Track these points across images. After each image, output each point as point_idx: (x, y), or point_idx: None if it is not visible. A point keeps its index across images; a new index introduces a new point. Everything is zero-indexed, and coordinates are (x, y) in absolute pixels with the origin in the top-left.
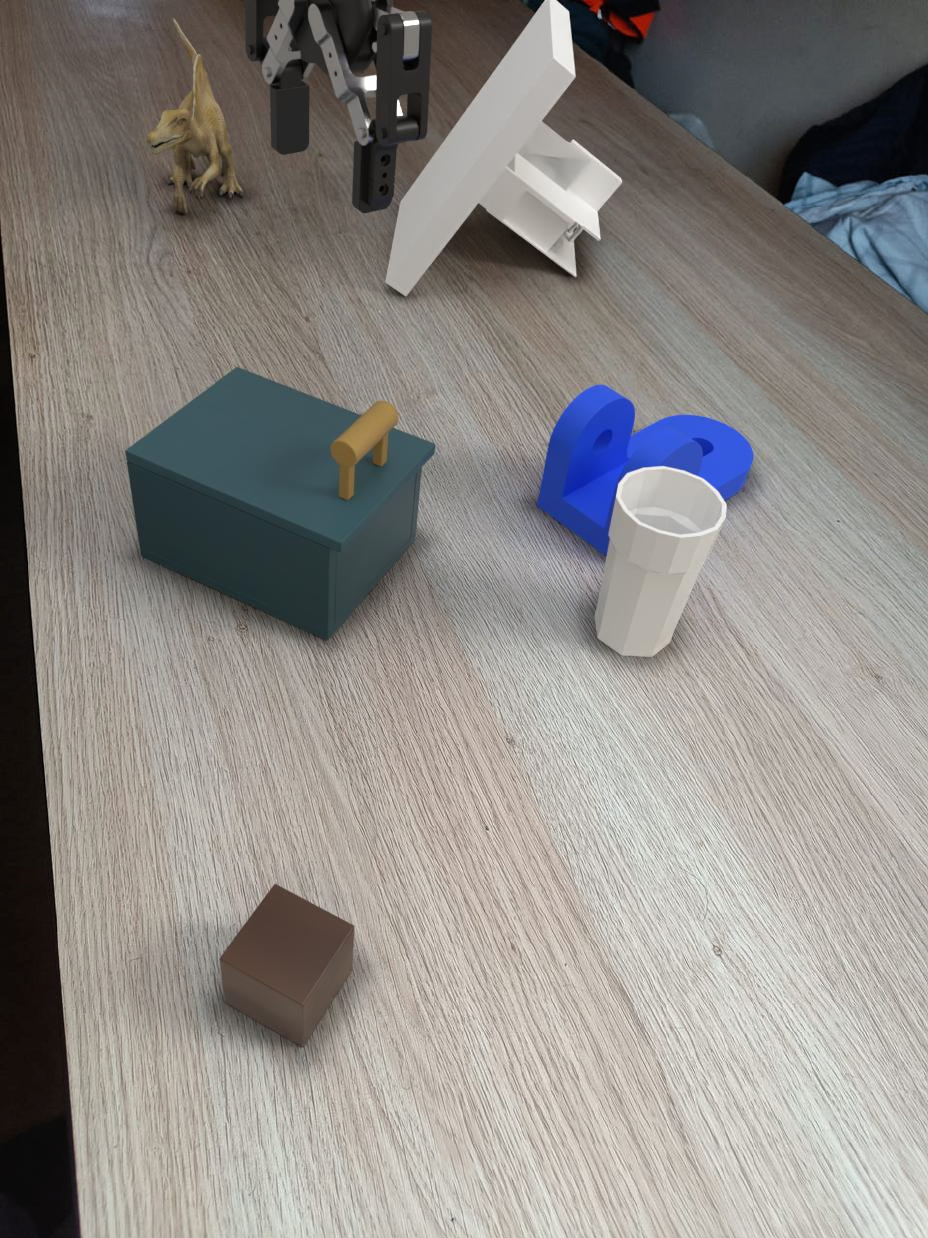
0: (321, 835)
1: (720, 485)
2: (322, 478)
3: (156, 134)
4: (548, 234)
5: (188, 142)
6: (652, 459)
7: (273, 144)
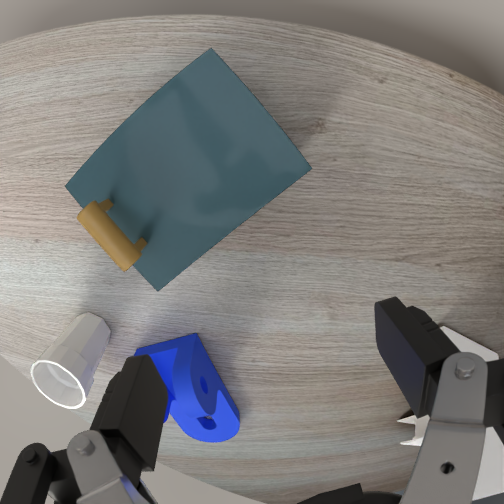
0: (12, 139)
1: (173, 417)
2: (131, 192)
3: None
4: (419, 423)
5: None
6: None
7: (390, 300)
